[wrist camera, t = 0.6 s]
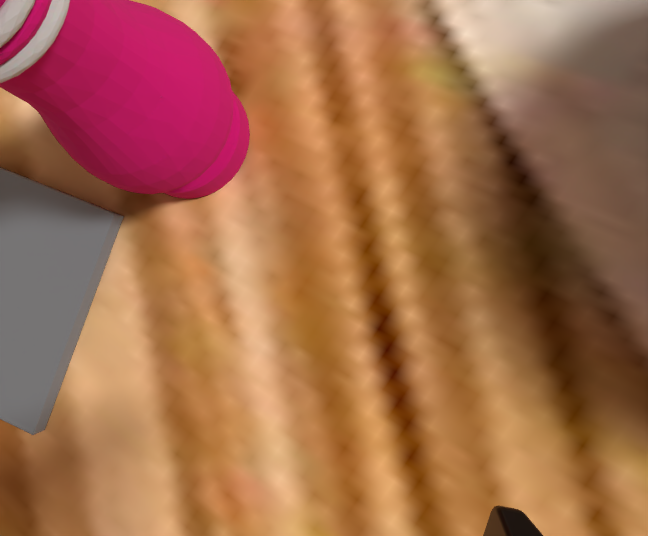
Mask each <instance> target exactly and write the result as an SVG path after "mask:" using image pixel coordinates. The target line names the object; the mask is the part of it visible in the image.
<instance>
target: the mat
mask: <svg viewBox="0 0 648 536" xmlns="http://www.w3.org/2000/svg"><path fill="white" fill-rule="evenodd" d="M123 217H124V216H121V215H119V214H116V213H114V212H111V211H109V210H106V209H104V208H101V207H99V206H96V205H94V204H91V203H89V202H86V201H84V200H81V199H79V198H76V197H74V196H71V195H69V194H66V193H63V192H61V191H58V190H56V189H53V188H51V187H48V186H46V185H43V184H41V183H38V182H36V181H33V180H31V179H28V178H26V177H23V176H21V175H18V174H16V173H13V172H11V171H8V170H6V169H3V168H1V167H0V419H2V420H4V421H6V422H8V423H10V424H12V425H14V426H16V427H18V428H20V429H22V430H24V431H26V432H28V433H30V434H32V435H34V434H36V433H39V432H41V431H43V430H45V428H46V425H47V422H48V419H49V417H50V414H51V411H52V409H53V406H54V403H55V401H56V398H57V395H58V392H59V390H60V387H61V384H62V382H63V379H64V376H65V374H66V371H67V368H68V365H69V363H70V360H71V357H72V355H73V352H74V349H75V347H76V344H77V341H78V338H79V336H80V333H81V330H82V328H83V325H84V322H85V320H86V317H87V314H88V311H89V309H90V306H91V303H92V301H93V298H94V295H95V293H96V290H97V287H98V284H99V282H100V279H101V276H102V274H103V271H104V268H105V266H106V263H107V260H108V257H109V255H110V252H111V249H112V247H113V244H114V241H115V239H116V236H117V233H118V230H119V228H120V225H121V222H122V220H123Z"/></svg>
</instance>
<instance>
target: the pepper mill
mask: <svg viewBox="0 0 648 536" xmlns="http://www.w3.org/2000/svg"><path fill="white" fill-rule="evenodd" d="M0 87H1V88H3V89H4V90H6V91H8V92H10V93H11V94H13V95H15V96H17V97H18V98H20V99H22V100H24V101H25V102H27V103H29V104H30V105H31V106H32V107H33V108H35V109H36V110H37V111H38V112H39V114H40V115H41V117H42V118H43V120H44V121H45V123H46V124H47V126H48V128H49V129H50V131H51V132H52V134H53V135H54V137H55V138H56V139H57V141H58V142H59V143H60V144H61V146H62V147H63V148H64V149H65V150H66V151H67V152H68V154H69V155H70V156H71V157H72V158H73V159H74V160H75V161H76V162H77V163H79V164H80V165H81V166H82V167H83V168H84V169H86V170H87V171H88V172H89V173H91V174H92V175H94V176H96V177H97V178H99V179H101V180H103V181H105V182H107V183H109V184H111V185H113V186H115V187H117V188H120V189H123V190H126V191H129V192H135V193H143V194H156V193H165V194H168V195H170V196H173V197H177V198H186V199H188V198H198V197H203V196H206V195H209V194H211V193H213V192H215V191H217V190H219V189H220V188H222V187H223V186H224V185H225V184H227V183H228V182H229V181H230V180H231V179H232V178H233V177H234V176H235V174H236V173H237V172H238V170H239V169H240V167H241V165H242V163H243V161H244V159H245V157H246V153H247V150H248V146H249V136H250V133H249V123H248V118H247V115H246V112H245V110H244V108H243V106H242V104H241V102H240V100H239V99H238V98H237V96H236V95H235V94H234V93H233V91H232V89H231V84H230V80H229V78H228V75H227V73H226V70H225V68H224V66H223V64H222V63H221V61H220V59H219V57H218V56H217V54H216V53H215V52H214V51H213V49H212V48H211V47H210V46H209V45H208V44H207V43H206V42H205V41H204V40H203V39H202V38H201V37H200V36H199V35H198V34H197V33H196V32H195V31H193V30H192V29H191V28H190V27H188V26H187V25H186V24H184V23H183V22H181V21H179V20H178V19H176V18H174V17H172V16H170V15H168V14H166V13H164V12H162V11H160V10H159V9H157V8H154V7H151V6H148V5H145V4H141V3H137V2H134V1H130V0H0Z"/></svg>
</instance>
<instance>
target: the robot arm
mask: <svg viewBox="0 0 648 536" xmlns="http://www.w3.org/2000/svg"><path fill="white" fill-rule="evenodd" d="M483 536H543V535H542V534H541V532H540V531H539V530H538V529H537V528H536V527H535V525H534V524H533V523H532V522H531V521H530V519H529V518H528V517H527V516H526V515H525V514H524V513H523V512H522V511H520V510H518V509H514V508H509V507H504V506H495V507H494V508H493V509H492V511H491V513H490V517H489V520H488V523H487V526H486V529H485V532H484V535H483Z"/></svg>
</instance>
